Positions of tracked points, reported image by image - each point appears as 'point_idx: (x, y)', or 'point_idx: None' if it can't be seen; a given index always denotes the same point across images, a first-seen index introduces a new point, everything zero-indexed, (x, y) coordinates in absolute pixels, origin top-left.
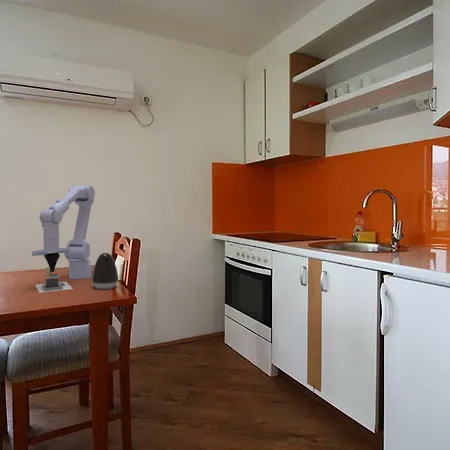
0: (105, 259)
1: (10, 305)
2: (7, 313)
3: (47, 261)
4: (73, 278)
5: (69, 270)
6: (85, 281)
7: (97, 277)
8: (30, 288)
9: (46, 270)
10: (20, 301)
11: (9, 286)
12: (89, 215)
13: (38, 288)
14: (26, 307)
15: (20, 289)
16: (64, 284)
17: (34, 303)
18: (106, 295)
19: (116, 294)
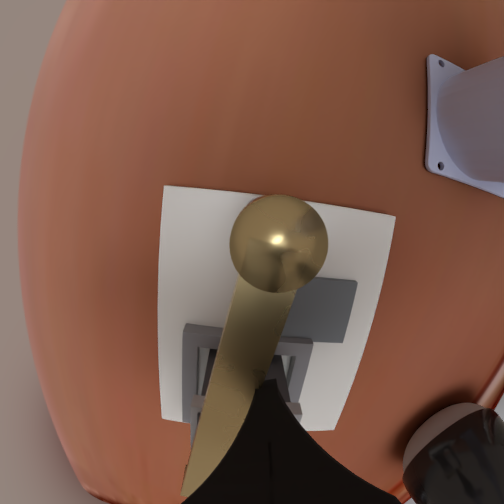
0: None
1: (77, 452)
2: (89, 492)
3: (219, 479)
4: (457, 157)
5: (480, 107)
6: (484, 217)
7: (413, 498)
8: (134, 209)
9: (209, 402)
10: (97, 439)
11: (55, 78)
12: None
13: (165, 330)
14: (125, 490)
15: (80, 204)
16: (341, 340)
17: (145, 479)
18: None
19: (403, 484)
